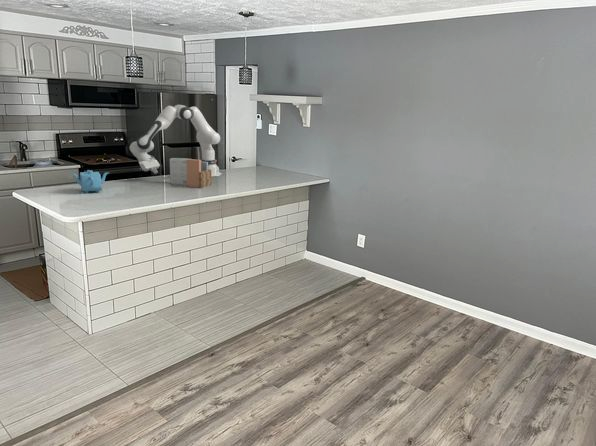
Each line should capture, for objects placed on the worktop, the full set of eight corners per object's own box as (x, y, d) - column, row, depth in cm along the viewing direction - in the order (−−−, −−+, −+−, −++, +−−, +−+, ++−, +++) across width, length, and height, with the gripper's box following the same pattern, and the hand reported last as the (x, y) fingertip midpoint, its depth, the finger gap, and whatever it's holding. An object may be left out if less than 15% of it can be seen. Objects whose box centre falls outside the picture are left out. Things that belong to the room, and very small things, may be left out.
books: (196, 183, 359) (196, 157, 353) (208, 184, 357) (208, 158, 351) (187, 186, 344) (186, 159, 339) (199, 187, 342) (199, 160, 336)
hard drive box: (192, 183, 357) (191, 158, 352) (188, 185, 350) (188, 159, 344) (173, 182, 358) (172, 157, 353) (169, 184, 351) (169, 158, 346)
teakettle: (93, 195, 301) (92, 173, 297) (70, 192, 305) (68, 171, 301) (111, 190, 318) (110, 169, 315) (89, 187, 323) (88, 167, 319)
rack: (209, 184, 358) (209, 169, 355) (211, 184, 357) (211, 169, 354) (199, 188, 341) (198, 172, 338) (201, 188, 341) (201, 172, 337)
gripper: (140, 158, 346) (151, 172, 346) (154, 155, 365) (165, 168, 365) (135, 163, 348) (146, 177, 348) (149, 160, 367) (160, 173, 367)
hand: (156, 172), depth 357 cm, fingers closed
